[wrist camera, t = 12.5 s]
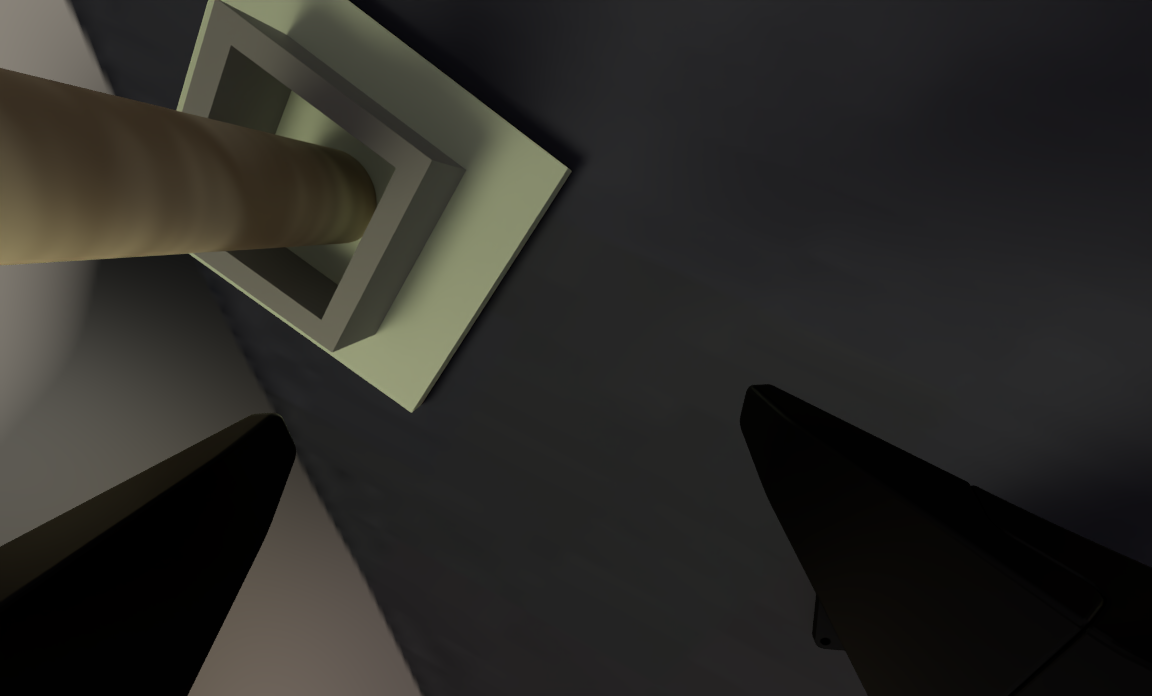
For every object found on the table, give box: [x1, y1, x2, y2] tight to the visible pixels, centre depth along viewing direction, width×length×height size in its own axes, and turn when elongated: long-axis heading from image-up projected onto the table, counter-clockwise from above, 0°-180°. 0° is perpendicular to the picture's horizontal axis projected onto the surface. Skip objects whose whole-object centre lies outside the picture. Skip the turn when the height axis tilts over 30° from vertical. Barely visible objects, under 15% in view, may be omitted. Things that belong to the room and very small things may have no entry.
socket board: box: [176, 0, 572, 413], centre depth 18 cm, size 16×14×4 cm
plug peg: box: [0, 68, 377, 265], centre depth 13 cm, size 4×4×13 cm
